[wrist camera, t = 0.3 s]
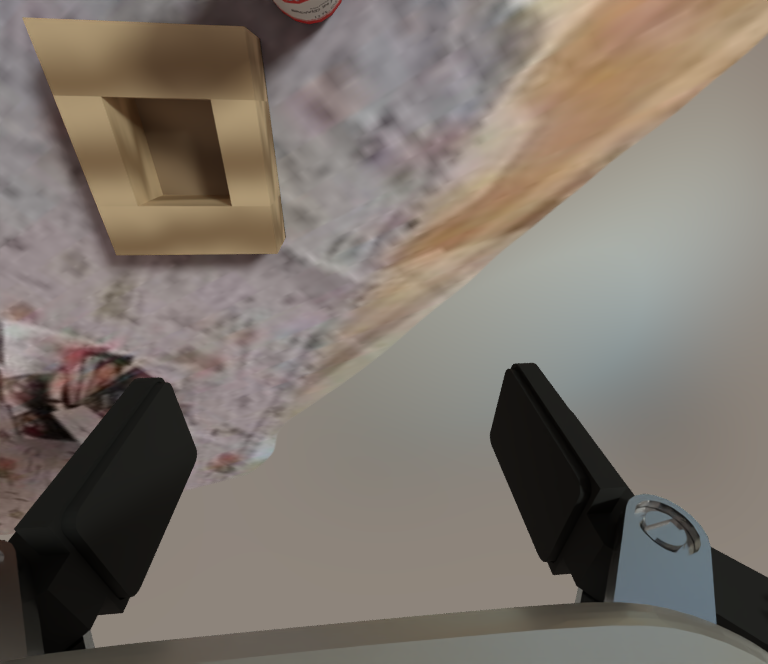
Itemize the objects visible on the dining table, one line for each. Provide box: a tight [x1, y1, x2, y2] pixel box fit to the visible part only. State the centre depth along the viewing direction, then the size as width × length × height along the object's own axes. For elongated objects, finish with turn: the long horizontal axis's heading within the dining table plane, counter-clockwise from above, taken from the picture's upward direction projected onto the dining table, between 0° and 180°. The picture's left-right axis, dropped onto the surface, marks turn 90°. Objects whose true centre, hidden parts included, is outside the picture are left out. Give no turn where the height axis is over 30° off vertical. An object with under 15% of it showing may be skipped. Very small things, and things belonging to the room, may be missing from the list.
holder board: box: [23, 18, 286, 255], centre depth 30 cm, size 16×14×5 cm
